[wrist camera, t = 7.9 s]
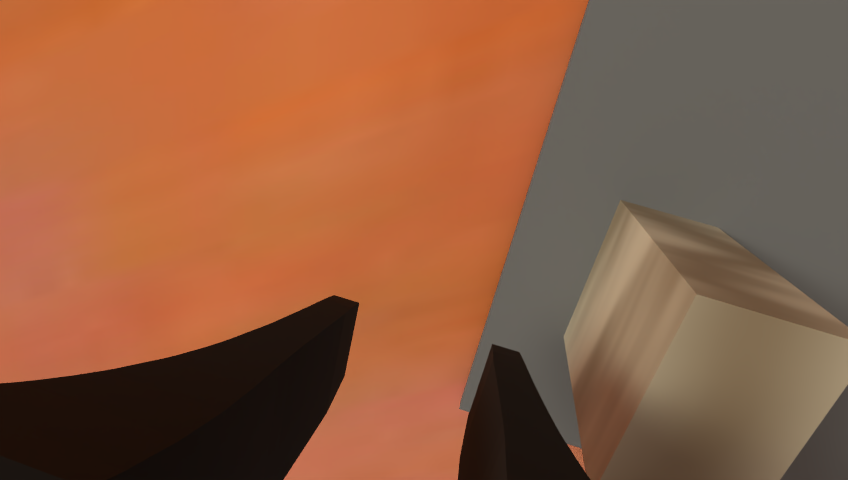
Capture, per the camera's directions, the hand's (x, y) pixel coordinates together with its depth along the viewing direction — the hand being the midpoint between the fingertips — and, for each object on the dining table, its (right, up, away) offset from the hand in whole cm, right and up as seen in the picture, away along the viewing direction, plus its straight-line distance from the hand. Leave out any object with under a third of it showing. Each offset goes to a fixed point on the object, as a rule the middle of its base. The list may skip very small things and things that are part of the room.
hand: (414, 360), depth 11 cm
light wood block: (+8, +1, +7) cm, 11 cm away
